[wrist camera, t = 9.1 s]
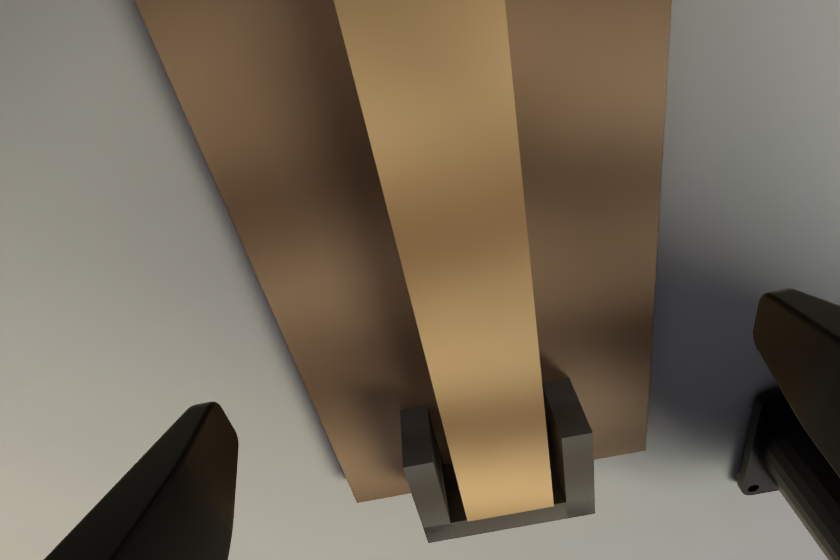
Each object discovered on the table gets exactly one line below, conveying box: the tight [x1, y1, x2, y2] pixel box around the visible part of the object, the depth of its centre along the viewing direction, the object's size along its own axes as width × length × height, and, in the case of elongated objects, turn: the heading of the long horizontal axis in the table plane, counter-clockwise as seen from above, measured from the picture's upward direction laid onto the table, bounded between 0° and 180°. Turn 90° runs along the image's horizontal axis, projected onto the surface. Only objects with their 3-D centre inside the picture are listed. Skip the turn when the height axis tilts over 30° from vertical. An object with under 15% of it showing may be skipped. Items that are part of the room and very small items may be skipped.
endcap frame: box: [135, 0, 672, 543], centre depth 14 cm, size 26×12×4 cm, turn 11°
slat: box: [334, 0, 554, 522], centre depth 14 cm, size 22×3×3 cm, turn 11°
